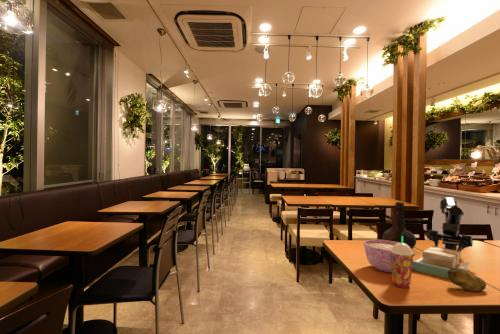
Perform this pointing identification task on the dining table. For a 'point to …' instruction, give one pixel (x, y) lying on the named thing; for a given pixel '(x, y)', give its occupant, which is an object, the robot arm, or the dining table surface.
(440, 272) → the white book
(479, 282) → the potato
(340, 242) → the dining table surface
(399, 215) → the glass bottle
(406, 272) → the smoothie
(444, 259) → the metallic block
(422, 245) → the dining table surface
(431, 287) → the dining table surface
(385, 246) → the bowl of food
